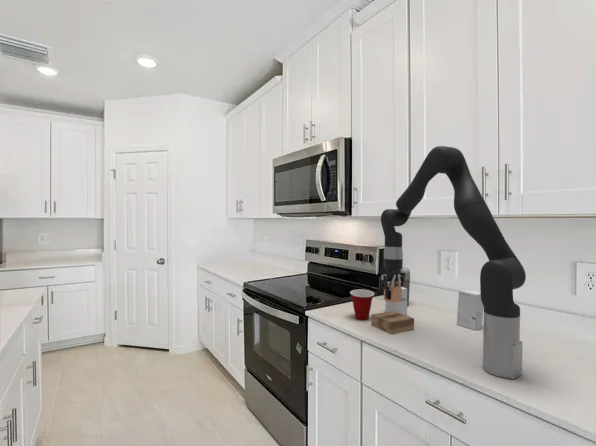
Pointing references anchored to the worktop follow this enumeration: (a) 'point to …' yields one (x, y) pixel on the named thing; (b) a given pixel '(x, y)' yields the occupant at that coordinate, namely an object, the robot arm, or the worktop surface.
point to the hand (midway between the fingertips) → (392, 298)
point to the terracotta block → (394, 294)
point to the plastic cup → (362, 303)
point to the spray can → (406, 281)
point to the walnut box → (392, 322)
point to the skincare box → (470, 309)
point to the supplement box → (398, 304)
